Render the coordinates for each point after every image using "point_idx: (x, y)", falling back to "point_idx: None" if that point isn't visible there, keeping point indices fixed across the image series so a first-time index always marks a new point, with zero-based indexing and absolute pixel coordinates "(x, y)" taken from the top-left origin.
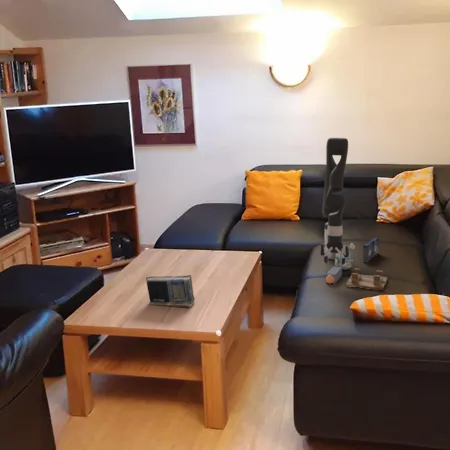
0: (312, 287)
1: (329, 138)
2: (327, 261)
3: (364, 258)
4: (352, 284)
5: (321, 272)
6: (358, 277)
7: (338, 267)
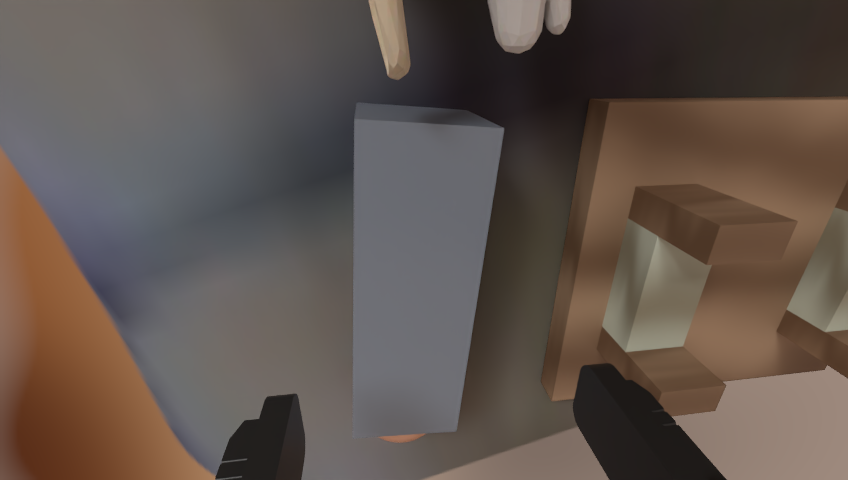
0: None
1: None
2: (292, 418)
3: None
4: None
5: (155, 53)
6: (689, 321)
7: (450, 159)
